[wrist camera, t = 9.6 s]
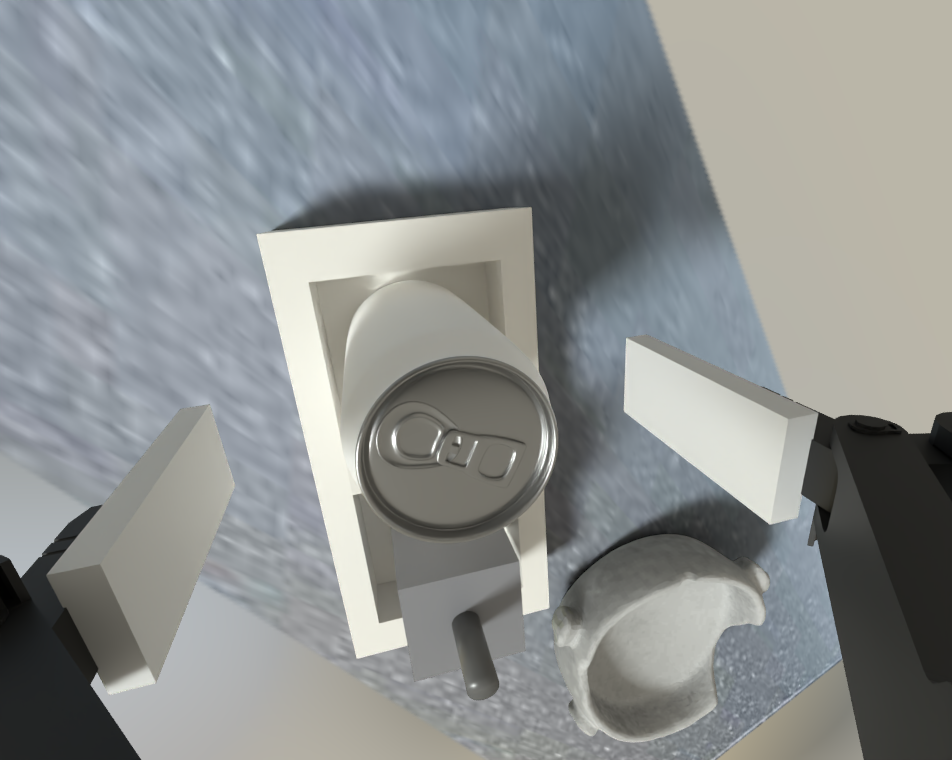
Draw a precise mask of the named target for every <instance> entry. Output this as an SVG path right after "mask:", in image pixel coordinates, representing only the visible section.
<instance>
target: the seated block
mask: <svg viewBox="0 0 952 760" xmlns="http://www.w3.org/2000/svg"><path fill="white" fill-rule="evenodd" d="M391 536H392V545H393V554H394V563H395V572H396V581H397V590H398V596H399V601H400V607H401V612H402V617H403V623H404V628H405V634H406V639H407V645H408V650H409V655H410V661H411V666H412V672H413V677H414V682H416V681H419V680H423V679H427V678H430V677H434V676H437V675H441V674H445V673H448V672H452V671H455V670H459V669H462V673H463V677H464V681H465V686H466V690H467V694H468V696H469V697H470V698H471V699H473V700H484V699H487V698H489V697H491V696H492V695H494V694H495V693H496V691H497V690H498V688H499V681H498V677H497V674H496V671H495V667H494V664H493V661H492V660H495V659H498V658H502V657H506V656H509V655H513V654H516V653H520V652H524V651H525V636H524V622H523V607H522V593H521V578H520V564H519V559H518V557H517V555H516V553H515V551H514V549H513V547H512V544H511V542H510V540H509V538H508V536H507V534H506V532H505V530H504V528H502V529H500V530H498V531H496V532H494V533H492V534H490V535H487V536H484V537H482V538H478V539H475V540H471V541H466V542H459V543H433V542H427V541H422V540H418V539H415V538H412V537H409V536H407V535H404V534H402V533H400V532H398V531H397V530H395V529H393V528H392V527H391Z"/></svg>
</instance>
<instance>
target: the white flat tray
mask: <svg viewBox="0 0 952 760" xmlns="http://www.w3.org/2000/svg"><path fill="white" fill-rule="evenodd" d="M257 238H258V243H259V247H260V251H261V255H262V260H263V264H264V268H265V272H266V277H267V281H268V285H269V289H270V293H271V298H272V302H273V306H274V310H275V315H276V319H277V323H278V327H279V331H280V336H281V340H282V344H283V348H284V353H285V357H286V361H287V365H288V370H289V374H290V378H291V382H292V386H293V391H294V395H295V399H296V403H297V408H298V412H299V416H300V420H301V425H302V429H303V433H304V437H305V441H306V446H307V450H308V454H309V458H310V463H311V467H312V471H313V475H314V479H315V484H316V488H317V492H318V496H319V501H320V505H321V509H322V513H323V518H324V522H325V526H326V530H327V534H328V539H329V543H330V547H331V551H332V556H333V560H334V564H335V568H336V572H337V577H338V581H339V585H340V589H341V594H342V598H343V602H344V606H345V611H346V615H347V619H348V623H349V627H350V632H351V636H352V640H353V644H354V649H355V653H356V657H357V659H358V658H362V657H366V656H369V655H373V654H377V653H381V652H385V651H388V650H392V649H396V648H400V647H404V646H407V639H406V634H405V628H404V623H403V617H402V612H401V607H400V601H399V596H398V590H397V581H396V572H395V563H394V554H393V545H392V536H391V527H390V526H389V525H387V524H386V523H385V522H384V521H383V520H381V519H380V518H379V517H378V516H377V515H376V514H375V512H374V511H373V510H372V509H371V507H370V506H369V504H368V503H367V501H366V500H365V498H364V496H363V494H362V491H361V489H360V488H359V486H358V485H357V483H356V482H355V480H354V479H353V477H352V475H351V473H350V471H349V469H348V467H347V464H346V461H345V458H344V453H343V449H342V443H341V405H342V391H343V377H344V365H345V353H346V343H347V336H348V331H349V327H350V323H351V320H352V318H353V316H354V314H355V312H356V310H357V309H358V307H359V306H360V305H361V304H362V303H363V302H364V301H365V300H366V299H367V298H368V297H369V296H370V295H372V294H373V293H374V292H376V291H377V290H379V289H381V288H383V287H385V286H387V285H390V284H393V283H396V282H400V281H407V280H419V281H426V282H431V283H434V284H437V285H439V286H442V287H444V288H446V289H448V290H449V291H451V292H452V293H454V294H455V295H456V296H458V297H459V298H460V299H462V300H463V301H464V302H465V303H466V304H468V305H469V306H470V307H471V308H473V309H474V310H475V311H476V312H477V313H479V314H480V315H481V316H482V317H483V318H485V319H486V320H487V321H488V322H489V323H490V324H492V325H493V326H494V327H495V328H496V329H498V330H499V331H500V332H501V333H502V334H503V335H505V336H506V337H507V338H508V339H509V340H510V341H511V342H513V343H514V344H515V345H516V346H517V347H518V348H519V349H520V350H521V351H522V352H523V353H524V354H525V355H526V356H527V357H528V358H529V359H530V361H531V362H532V363H533V365H534V366H535V367H536V369H537V370H538V372H539V365H538V342H537V320H536V297H535V274H534V252H533V229H532V207H522V208H500V209H490V210H480V211H470V212H459V213H449V214H439V215H429V216H418V217H408V218H398V219H388V220H377V221H367V222H357V223H347V224H336V225H326V226H316V227H306V228H295V229H285V230H275V231H269V232H264V233H260V234H257ZM504 530H505V532H506V534H507V536H508V538H509V540H510V542H511V544H512V547H513V549H514V551H515V553H516V555H517V557H518V559H519V564H520V578H521V593H522V607H523V615H525V614H529V613H533V612H536V611H540V610H544V609H548V608H549V591H548V569H547V546H546V523H545V501H544V490H543V491H542V493H541V494H540V496H539V497H538V498H537V500H536V501H535V502H534V503H533V504H532V506H531V507H530V508H529V509H528V510H527V511H526V512H524V513H523V514H522V515H521V516H520V517H519V518H517V519H516V520H515V521H513V522H512V523H510V524H509V525H507V526H506V527H504Z"/></svg>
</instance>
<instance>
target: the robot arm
mask: <svg viewBox="0 0 952 760" xmlns="http://www.w3.org/2000/svg"><path fill="white" fill-rule="evenodd" d="M624 412H625V413H627V414H628V415H629V416H630V417H632V418H633V419H634V420H636V421H637V422H638V423H640V424H641V425H642V426H643V427H645V428H646V429H647V430H649V431H650V432H651V433H652V434H654V435H655V436H656V437H658V438H659V439H660V440H661V441H663V442H664V443H665V444H667V445H668V446H669V447H670V448H672V449H673V450H674V451H676V452H677V453H678V454H679V455H681V456H682V457H683V458H685V459H686V460H687V461H688V462H690V463H691V464H692V465H694V466H695V467H696V468H698V469H699V470H700V471H701V472H703V473H704V474H705V475H707V476H708V477H709V478H710V479H712V480H713V481H714V482H716V483H717V484H718V485H719V486H721V487H722V488H723V489H725V490H726V491H727V492H728V493H730V494H731V495H732V496H734V497H735V498H736V499H737V500H739V501H740V502H741V503H743V504H744V505H745V506H746V507H748V508H749V509H750V510H752V511H753V512H754V513H756V514H757V515H758V516H759V517H761V518H762V519H763V520H765V521H766V522H767V523H768V524H770V525H771V524H775V523H779V522H783V521H787V520H790V519H794V518H798V513H799V508H800V503H801V498H802V495H803V496H805V497H806V498H808V499H809V500H811V501H812V502H814V503H815V504H816V507H815V511H814V516H813V521H812V525H811V530H810V535H809V539H808V544H807V545H809V546H813V545H814V541H815V540H818V545H819V549H820V554H821V559H822V564H823V568H824V573H825V578H826V583H827V587H828V592H829V597H830V601H831V606H832V611H833V616H834V620H835V625H836V630H837V635H838V639H839V644H840V649H841V654H842V658H843V663H844V668H845V672H846V677H847V682H848V686H849V691H850V696H851V701H852V706H853V710H854V715H855V720H856V725H857V729H858V734H859V739H860V743H861V748H862V753H863V758H864V760H952V412H946V413H941V414H938V415H936V417H935V420H934V424H933V427H932V430H931V433H926V434H908V432H907V431H906V430H904V429H903V428H902V427H901V426H899V425H897V424H895V423H892V422H890V421H887V420H883V419H880V418H876V417H871V416H863V415H847V416H840V417H838V418H836V419H833V418H831V417H828V416H826V415H824V414H822V413H820V412H817V411H815V410H813V409H811V408H808V407H806V406H804V405H802V404H800V403H798V402H793V400H791V399H789V398H787V397H784V396H780V394H778V393H776V392H773V391H771V390H769V389H767V388H765V387H761V386H758V385H756V384H754V383H752V382H750V381H747V380H745V379H743V378H741V377H739V376H736V375H734V374H732V373H730V372H728V371H726V370H723V369H721V368H719V367H717V366H715V365H712V364H710V363H708V362H706V361H704V360H701V359H699V358H697V357H695V356H693V355H690V354H688V353H686V352H684V351H682V350H680V349H677V348H675V347H673V346H671V345H669V344H666V343H664V342H662V341H660V340H658V339H655V338H653V337H651V336H649V335H641V336H634V337H628V338H626V362H625V391H624ZM234 488H235V483H234V480H233V477H232V474H231V471H230V467H229V464H228V461H227V458H226V455H225V452H224V448H223V445H222V442H221V439H220V436H219V433H218V429H217V426H216V423H215V420H214V417H213V413H212V410H211V407H210V404H208V405H202V406H196V407H190V408H183V409H180V410H179V411H178V413H177V414H176V415H175V416H174V418H173V419H172V420H171V421H170V423H169V424H168V425H167V426H166V428H165V429H164V430H163V431H162V432H161V434H160V435H159V436H158V437H157V439H156V440H155V441H154V442H153V444H152V445H151V446H150V447H149V449H148V450H147V451H146V452H145V454H144V455H143V456H142V457H141V458H140V460H139V461H138V462H137V463H136V465H135V466H134V467H133V468H132V470H131V471H130V472H129V473H128V475H127V476H126V477H125V478H124V479H123V481H122V482H121V483H120V484H119V486H118V487H117V488H116V489H115V491H114V492H113V493H112V494H111V496H110V497H109V498H108V499H107V500H106V502H105V503H104V504H103V505H99V506H94V507H91V508H89V509H88V510H87V511H85V512H84V513H82V514H81V515H80V516H78V517H77V518H75V519H74V520H73V521H71V522H70V523H69V524H68V525H67V526H66V527H65V528H64V529H63V530H62V532H61V533H60V534H59V535H58V536H57V537H56V538H55V540H54V543H51V544H50V545H49V547H48V548H47V549H46V550H45V551H44V552H43V553H42V557H39V558H38V559H37V560H36V561H35V563H34V564H33V565H32V566H31V567H30V568H29V569H28V571H27V572H26V573H25V574H24V575H23V576H22V578H20V577H19V575H18V573H17V571H16V569H15V568H14V566H13V564H12V562H11V560H10V559H9V558H7V557H4V556H2V555H0V760H141V759H140V757H139V756H138V755H137V753H136V751H135V750H134V749H133V747H132V746H131V744H130V743H129V741H128V740H127V738H126V737H125V735H124V734H123V732H122V731H121V729H120V728H119V726H118V725H117V724H116V722H115V721H114V719H113V718H112V716H111V715H110V713H109V712H108V710H107V709H106V707H105V706H104V704H103V703H102V701H101V700H100V698H99V697H98V695H97V694H96V693H95V691H94V690H93V688H92V687H91V685H90V684H91V682H92V680H93V679H94V677H95V675H96V673H98V675H99V677H100V679H101V680H102V682H103V684H104V686H105V688H106V690H107V692H108V694H109V695H111V694H115V693H119V692H123V691H127V690H130V689H134V688H138V687H142V686H146V685H150V684H154V683H156V682H157V679H158V677H159V674H160V672H161V669H162V667H163V664H164V662H165V659H166V657H167V654H168V652H169V649H170V647H171V644H172V642H173V640H174V637H175V635H176V632H177V630H178V627H179V625H180V622H181V619H182V617H183V615H184V612H185V610H186V607H187V605H188V602H189V599H190V597H191V595H192V592H193V590H194V587H195V585H196V582H197V580H198V577H199V575H200V572H201V570H202V567H203V565H204V562H205V560H206V557H207V555H208V552H209V550H210V547H211V545H212V542H213V540H214V537H215V535H216V532H217V530H218V527H219V525H220V522H221V520H222V517H223V515H224V513H225V510H226V508H227V505H228V503H229V500H230V498H231V495H232V493H233V490H234Z"/></svg>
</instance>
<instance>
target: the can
mask: <svg viewBox="0 0 952 760" xmlns="http://www.w3.org/2000/svg"><path fill="white" fill-rule="evenodd" d="M341 443H342V449H343V453H344V458H345V461H346V464H347V467H348V469H349V471H350V473H351V475H352V477H353V479H354V480H355V482H356V483H357V485H358V486H359V488H360V489H361V491H362V494H363V496H364V498H365V500H366V501H367V503H368V504H369V506H370V507H371V509H372V510H373V511H374V512H375V514H376V515H377V516H378V517H379V518H380V519H381V520H383V521H384V522H385V523H386V524H387V525H389V526H390V527H392V528H393V529H395V530H397V531H398V532H400V533H402V534H404V535H407V536H409V537H412V538H415V539H418V540H422V541H427V542H433V543H459V542H466V541H471V540H475V539H478V538H482V537H484V536H487V535H490V534H492V533H494V532H496V531H498V530H500V529H502V528H504V527H506V526H507V525H509V524H510V523H512V522H513V521H515V520H516V519H517V518H519V517H520V516H521V515H522V514H523V513H524V512H526V511H527V510H528V509H529V508H530V507H531V506H532V504H533V503H534V502H535V501H536V500H537V498H538V497H539V496H540V494H541V493H542V491H543V490H544V488H545V487H546V485H547V483H548V481H549V479H550V477H551V474H552V472H553V469H554V466H555V462H556V458H557V453H558V427H557V422H556V418H555V414H554V411H553V409H552V407H551V404H550V399H549V395H548V392H547V389H546V386H545V383H544V381H543V379H542V377H541V375H540V374H539V372H538V370H537V369H536V367H535V366H534V365H533V363H532V362H531V361H530V359H529V358H528V357H527V356H526V355H525V354H524V353H523V352H522V351H521V350H520V349H519V348H518V347H517V346H516V345H515V344H514V343H513V342H511V341H510V340H509V339H508V338H507V337H506V336H505V335H503V334H502V333H501V332H500V331H499V330H498V329H496V328H495V327H494V326H493V325H492V324H490V323H489V322H488V321H487V320H486V319H485V318H483V317H482V316H481V315H480V314H479V313H477V312H476V311H475V310H474V309H473V308H471V307H470V306H469V305H468V304H466V303H465V302H464V301H463V300H462V299H460V298H459V297H458V296H456V295H455V294H454V293H452V292H451V291H449V290H448V289H446V288H444V287H442V286H439V285H437V284H434V283H431V282H426V281H419V280H407V281H400V282H396V283H393V284H390V285H387V286H385V287H383V288H381V289H379V290H377V291H376V292H374V293H373V294H372V295H370V296H369V297H368V298H367V299H366V300H365V301H364V302H363V303H362V304H361V305H360V306H359V307H358V309H357V310H356V312H355V314H354V316H353V318H352V320H351V323H350V327H349V331H348V336H347V343H346V353H345V365H344V377H343V391H342V405H341Z"/></svg>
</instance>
